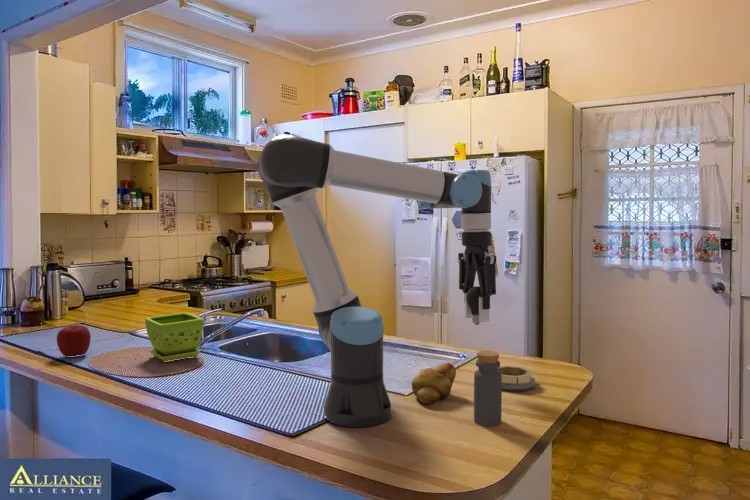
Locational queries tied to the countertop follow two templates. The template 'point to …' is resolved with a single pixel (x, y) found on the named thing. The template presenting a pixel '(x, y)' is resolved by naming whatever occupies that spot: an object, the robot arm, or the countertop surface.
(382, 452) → the countertop surface
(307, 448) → the countertop surface
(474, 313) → the light bulb
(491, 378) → the bottle
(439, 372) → the bread roll
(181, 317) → the flower pot
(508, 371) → the octagonal rimmed dish
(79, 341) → the apple
